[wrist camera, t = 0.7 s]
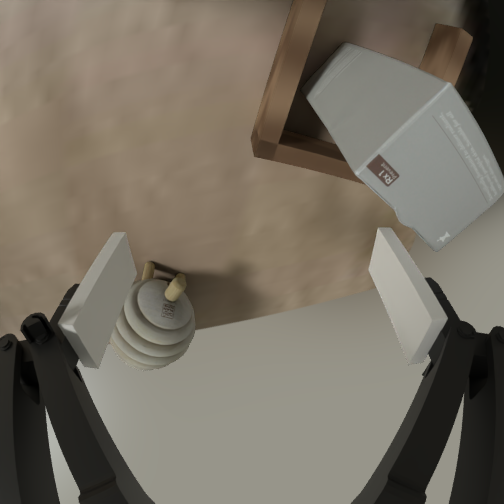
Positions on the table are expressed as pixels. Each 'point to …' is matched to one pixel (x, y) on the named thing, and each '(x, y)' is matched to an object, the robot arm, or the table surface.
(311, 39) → the walnut u-shaped frame
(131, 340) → the grey ribbed rounded piece
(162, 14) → the table surface
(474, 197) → the skincare box
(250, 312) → the table surface
